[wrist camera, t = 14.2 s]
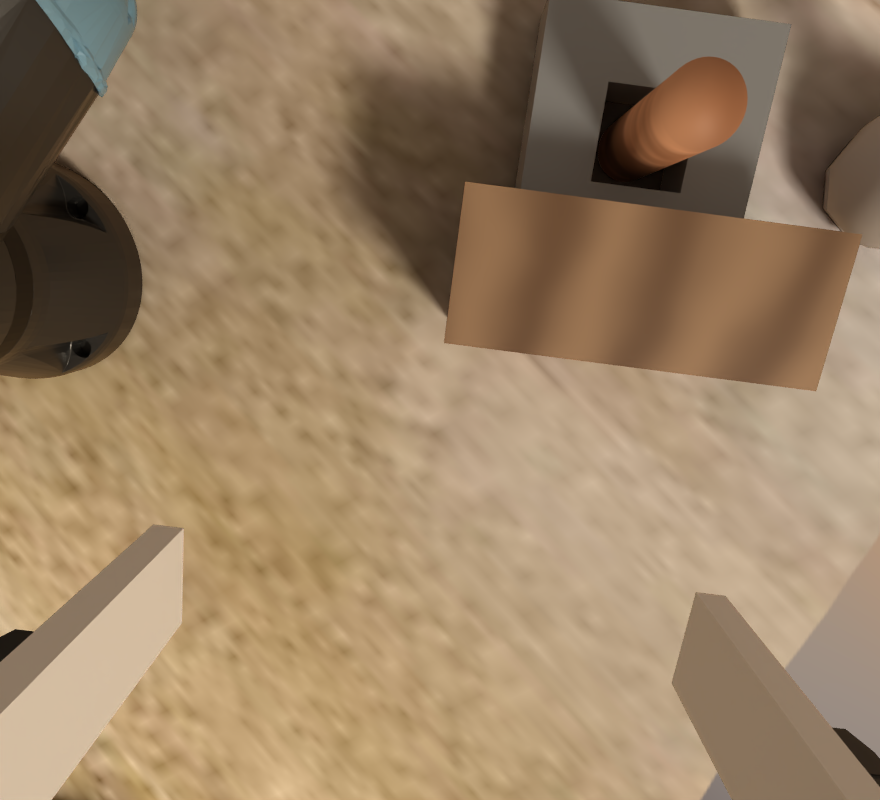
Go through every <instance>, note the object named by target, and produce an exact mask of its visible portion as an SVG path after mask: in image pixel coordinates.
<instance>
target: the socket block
mask: <svg viewBox="0 0 880 800" xmlns="http://www.w3.org/2000/svg"><path fill="white" fill-rule="evenodd" d="M790 28H791V24H785V23H778V22H771V21H764V20H756V19H749V18H742V17H735V16H727V15H720V14H713V13H705V12H698V11H691V10H684V9H676V8H669V7H662V6H654V5H647V4H640V3H633V2H625V1H618V0H547V3H546V5H545V8H544V11H543V13H542V16H541V19H540V24H539V31H538V38H537V44H536V51H535V58H534V64H533V71H532V78H531V84H530V91H529V98H528V104H527V111H526V117H525V124H524V131H523V137H522V144H521V151H520V157H519V164H518V171H517V177H516V184H515V188H518V189H525V190H533V191H540V192H548V193H555V194H563V195H570V196H578V197H585V198H593V199H600V200H608V201H615V202H623V203H630V204H638V205H645V206H653V207H660V208H668V209H675V210H683V211H690V212H698V213H705V214H713V215H720V216H728V217H735V218H743V219H744V215H745V211H746V207H747V202H748V198H749V194H750V190H751V186H752V182H753V178H754V174H755V170H756V166H757V162H758V158H759V154H760V150H761V146H762V142H763V137H764V133H765V129H766V125H767V121H768V117H769V113H770V109H771V105H772V101H773V97H774V93H775V89H776V85H777V81H778V76H779V72H780V68H781V64H782V60H783V56H784V52H785V48H786V44H787V40H788V36H789V32H790ZM708 56H709V57H718V58H721V59H724V60H726V61H728V62H730V63H731V64H732V65H734V66H735V67H736V68H737V69H738V71H739V72H740V73H741V75H742V77H743V79H744V81H745V84H746V88H747V96H748V100H747V108H746V112H745V115H744V118H743V120H742V122H741V124H740V126H739V127H738V129H737V130H736V132H735V133H734V134H733V135H732V136H731V137H730V138H729V139H727V140H726V141H725V142H723V143H722V144H720V145H718V146H716V147H714V148H711V149H709V150H706V151H704V152H702V153H699V154H697V155H694V156H692V157H690V158H687V159H685V160H682V161H680V162H678V163H675V164H673V165H670V166H668V167H666V168H664V172H663V177H662V182H661V186H660V191H659V190H652V189H644V188H637V187H629V186H622V185H614V184H607V183H599V182H592V181H591V177H592V171H593V166H594V160H595V155H596V149H597V144H598V138H599V132H600V127H601V121H602V116H603V110H604V105H605V101H607V102H614V103H622V104H629V105H636V104H637V103H638V102H639V101H640V100H642V99H643V98H644V97H645V96H647V95H648V94H649V93H650V92H651V91H653V90H654V89H655V88H656V87H657V86H659V85H660V84H661V83H662V82H663V81H665V80H666V79H667V78H668V77H669V76H671V75H672V74H673V73H674V72H676V71H677V70H678V69H679V68H680V67H682V66H683V65H684V64H686V63H688V62H690V61H691V60H694V59H697V58H701V57H708Z"/></svg>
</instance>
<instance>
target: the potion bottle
mask: <svg viewBox="0 0 880 800" xmlns="http://www.w3.org/2000/svg"><path fill="white" fill-rule="evenodd" d="M823 209H824V210H825V212H826V213H827V214H828V216H829V217H830V218H831V219H832V221H833V222H834V223H835V224H836V226H837V227H838V228H839V229H840V231H841V232H848V233H856V234H863V235H862V238H861V241H860V245H863V246H865V247H868V248H877V249H880V116H878V117H877V118H876V119H874V120H873V121H871V122H870V123H869V124H867V125H866V126H864V127H863V128H862V129H861V130H860V131H859V132H858V133H857V135H856V136H855V137H854V138H853V140H851V141H850V142H849V143H848V145H847V146H846V147H845V148H844V149H843V151H842V152H841V153H840V154H839V155H838V157H837V158H836V159H835V160H834V161H833V163H832V164H831V165H830V166H829V167H828V169H827V170H826V171H825V184H824V197H823Z"/></svg>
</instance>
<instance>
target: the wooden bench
mask: <svg viewBox="0 0 880 800" xmlns="http://www.w3.org/2000/svg"><path fill="white" fill-rule="evenodd" d="M862 235H863V234H856V233H848V232H841V231H833V230H826V229H818V228H811V227H803V226H795V225H788V224H780V223H773V222H765V221H758V220H750V219H743V218H735V217H728V216H720V215H713V214H705V213H698V212H690V211H683V210H675V209H668V208H660V207H653V206H645V205H638V204H630V203H623V202H615V201H608V200H600V199H593V198H585V197H578V196H570V195H563V194H555V193H548V192H540V191H533V190H525V189H518V188H510V187H502V186H495V185H487V184H480V183H472V182H465V185H464V193H463V200H462V208H461V216H460V223H459V231H458V239H457V247H456V254H455V262H454V270H453V277H452V285H451V293H450V300H449V308H448V316H447V323H446V331H445V339H444V343H449V344H456V345H464V346H472V347H480V348H487V349H495V350H503V351H510V352H518V353H526V354H534V355H541V356H549V357H557V358H564V359H572V360H580V361H588V362H595V363H603V364H611V365H619V366H626V367H634V368H642V369H649V370H657V371H665V372H673V373H680V374H688V375H696V376H703V377H711V378H719V379H727V380H734V381H742V382H750V383H757V384H765V385H773V386H781V387H788V388H796V389H804V390H811V391H816V390H817V386H818V383H819V380H820V376H821V373H822V369H823V366H824V363H825V359H826V356H827V353H828V349H829V346H830V343H831V339H832V336H833V332H834V329H835V326H836V322H837V319H838V316H839V312H840V309H841V305H842V302H843V299H844V295H845V292H846V289H847V285H848V282H849V278H850V275H851V272H852V268H853V265H854V262H855V258H856V255H857V252H858V248H859V245H860V241H861V238H862Z"/></svg>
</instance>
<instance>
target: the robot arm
mask: <svg viewBox="0 0 880 800" xmlns="http://www.w3.org/2000/svg"><path fill="white" fill-rule="evenodd" d="M136 22H137V5H136V0H0V375H3V376H11V377H18V378H29V379H38V378H50V377H57V376H61V375H65V374H68V373H72V372H75V371H78V370H82V369H85V368H87V367H90V366H92V365H94V364H96V363H98V362H100V361H102V360H103V359H105V358H106V357H108V356H109V355H110V354H111V353H113V352H114V351H115V350H116V349H117V348H118V347H119V346H120V345H121V343H122V342H123V341H124V340H125V338H126V337H127V335H128V334H129V332H130V330H131V329H132V327H133V324H134V322H135V320H136V317H137V314H138V311H139V307H140V302H141V296H142V271H141V264H140V259H139V255H138V251H137V248H136V245H135V242H134V240H133V237H132V235H131V233H130V231H129V229H128V227H127V225H126V223H125V221H124V220H123V218H122V217H121V215H120V214H119V212H118V211H117V209H116V208H115V207H114V205H113V204H112V203H111V202H110V201H109V200H108V198H107V197H106V196H105V195H104V194H103V193H102V192H101V191H100V190H98V189H97V188H96V187H95V186H94V185H93V184H91V183H90V182H89V181H88V180H86V179H85V178H83V177H82V176H80V175H79V174H77V173H75V172H73V171H72V170H70V169H68V168H66V167H63V166H61V165H59V164H56V163H54V162H55V160H56V159H57V157H58V156H59V154H60V153H61V151H62V150H63V148H64V147H65V145H66V144H67V142H68V141H69V139H70V137H71V136H72V134H73V133H74V131H75V130H76V128H77V127H78V125H79V124H80V122H81V121H82V119H83V118H84V116H85V114H86V113H87V111H88V110H89V108H90V107H91V105H92V104H93V102H94V101H95V99H96V98H97V96H98V95H99V96H101V97H103V96H104V94H105V93H106V92H107V83H106V80H107V78H108V76H109V75H110V73H111V71H112V69H113V67H114V66H115V64H116V62H117V60H118V58H119V57H120V55H121V53H122V51H123V50H124V48H125V46H126V45H127V43H128V41H129V39H130V38H131V36H132V34H133V32H134V30H135V26H136ZM183 537H184V528H177V527H169V526H161V525H152V526H151V527H150V528H149V529H148V530H147V531H146V532H145V533H143V534H142V535H141V536H140V537H139V538H138V539H137V540H136V541H135V542H133V543H132V544H131V545H130V546H129V547H128V548H127V549H126V550H124V551H123V552H122V553H121V554H120V555H119V556H118V557H117V558H116V559H114V560H113V561H112V562H111V563H110V564H109V565H108V566H107V567H106V568H104V569H103V570H102V571H101V572H100V573H99V574H98V575H97V576H96V577H94V578H93V579H92V580H91V581H90V582H89V583H88V584H87V585H86V586H84V587H83V588H82V589H81V590H80V591H79V592H78V593H77V594H76V595H74V596H73V597H72V598H71V599H70V600H69V601H68V602H67V603H66V604H64V605H63V606H62V607H61V608H60V609H59V610H58V611H57V612H55V613H54V614H53V615H52V616H51V617H50V618H49V619H48V620H47V621H45V622H44V623H43V624H42V625H41V626H40V627H39V628H38V629H37V630H35V631H34V632H33V631H25V630H17V629H15V630H13V631H11V632H9V633H7V634H5V635H3V636H1V637H0V800H52V799H53V797H54V796H55V794H56V793H57V792H58V790H59V789H60V788H61V786H62V785H63V784H64V782H65V781H66V780H67V778H68V777H69V775H70V774H71V773H72V771H73V770H74V769H75V767H76V766H77V765H78V763H79V762H80V760H81V759H82V758H83V756H84V755H85V754H86V752H87V751H88V750H89V748H90V747H91V746H92V744H93V743H94V741H95V740H96V739H97V737H98V736H99V735H100V733H101V732H102V731H103V729H104V728H105V727H106V725H107V724H108V722H109V721H110V720H111V718H112V717H113V716H114V714H115V713H116V712H117V710H118V709H119V708H120V706H121V705H122V703H123V702H124V701H125V699H126V698H127V697H128V695H129V694H130V693H131V691H132V690H133V689H134V687H135V686H136V684H137V683H138V682H139V680H140V679H141V678H142V676H143V675H144V674H145V672H146V671H147V670H148V668H149V667H150V665H151V664H152V663H153V661H154V660H155V659H156V657H157V656H158V655H159V653H160V652H161V650H162V649H163V648H164V646H165V645H166V644H167V642H168V641H169V640H170V638H171V637H172V636H173V634H174V633H175V631H176V630H177V629H178V627H179V626H180V625H181V623H182V589H183ZM672 685H673V687H674V689H675V691H676V692H677V694H678V696H679V698H680V700H681V702H682V704H683V706H684V708H685V710H686V712H687V714H688V716H689V718H690V720H691V722H692V723H693V725H694V727H695V729H696V731H697V733H698V735H699V737H700V739H701V741H702V743H703V745H704V747H705V749H706V751H707V752H708V754H709V756H710V758H711V760H712V762H713V764H714V766H715V768H716V770H717V772H718V774H719V776H720V777H721V779H722V782H723V783H724V785H725V787H726V789H727V791H728V793H729V795H730V797H731V799H732V800H880V758H879V757H878V756H877V755H876V754H875V753H874V752H873V751H872V750H871V749H870V748H868V747H867V746H866V745H865V744H863V743H862V742H861V741H860V740H858V739H857V738H856V737H855V736H853V735H852V734H851V733H850V732H848V731H847V730H846V729H840V728H832V727H831V726H830V725H829V724H828V722H827V721H826V720H825V719H824V717H823V716H822V715H821V714H820V713H819V711H818V710H817V709H816V708H815V706H814V705H813V704H812V702H811V701H810V700H809V699H808V698H807V696H806V695H805V694H804V693H803V691H802V690H801V689H800V688H799V686H798V685H797V684H796V683H795V681H794V680H793V679H792V678H791V676H790V675H789V674H788V673H787V672H786V670H785V669H784V668H783V667H782V665H781V664H780V663H779V662H778V660H777V659H776V658H775V657H774V655H773V654H772V653H771V652H770V651H769V649H768V648H767V647H766V646H765V644H764V643H763V642H762V641H761V639H760V638H759V637H758V636H757V634H756V633H755V632H754V631H753V629H752V628H751V627H750V626H749V625H748V623H747V622H746V621H745V620H744V618H743V617H742V616H741V615H740V613H739V612H738V611H737V610H736V608H735V607H734V606H733V605H732V603H731V602H730V601H729V600H728V599H727V597H726V596H722V595H714V594H706V593H698V592H696V594H695V598H694V601H693V605H692V609H691V613H690V616H689V620H688V624H687V627H686V631H685V635H684V639H683V642H682V646H681V650H680V654H679V657H678V661H677V665H676V669H675V672H674V676H673V680H672Z"/></svg>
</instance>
